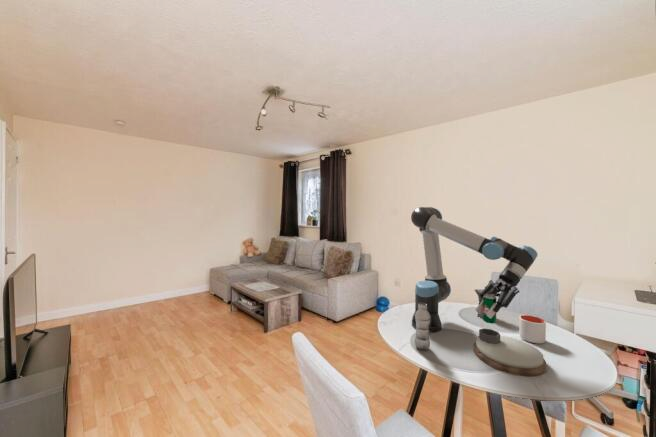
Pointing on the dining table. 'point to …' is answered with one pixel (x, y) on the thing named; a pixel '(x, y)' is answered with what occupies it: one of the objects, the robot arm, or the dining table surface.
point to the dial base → (511, 369)
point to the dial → (508, 350)
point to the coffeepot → (481, 299)
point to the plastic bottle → (422, 327)
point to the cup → (532, 329)
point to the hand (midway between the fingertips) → (483, 314)
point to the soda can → (488, 307)
